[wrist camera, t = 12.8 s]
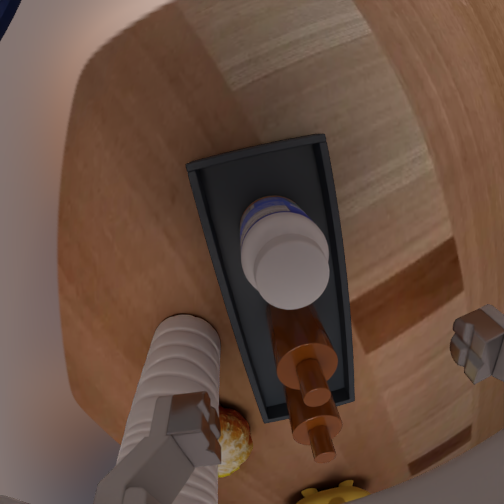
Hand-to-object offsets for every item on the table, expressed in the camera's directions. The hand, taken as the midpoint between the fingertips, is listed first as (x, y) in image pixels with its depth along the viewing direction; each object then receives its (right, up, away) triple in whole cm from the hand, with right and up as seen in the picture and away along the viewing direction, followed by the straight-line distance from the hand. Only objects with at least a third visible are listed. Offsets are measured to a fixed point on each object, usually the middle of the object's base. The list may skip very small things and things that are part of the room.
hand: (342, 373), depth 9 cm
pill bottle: (-1, +6, +17) cm, 18 cm away
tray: (0, -1, +20) cm, 20 cm away
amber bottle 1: (+1, -2, +20) cm, 20 cm away
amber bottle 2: (+2, -9, +22) cm, 24 cm away
